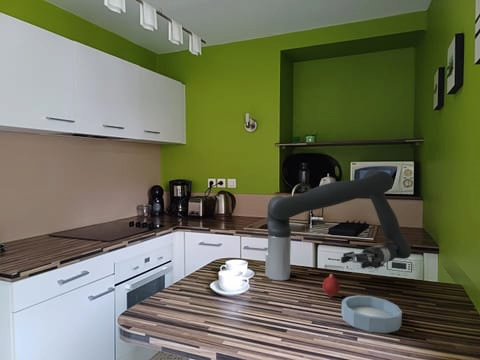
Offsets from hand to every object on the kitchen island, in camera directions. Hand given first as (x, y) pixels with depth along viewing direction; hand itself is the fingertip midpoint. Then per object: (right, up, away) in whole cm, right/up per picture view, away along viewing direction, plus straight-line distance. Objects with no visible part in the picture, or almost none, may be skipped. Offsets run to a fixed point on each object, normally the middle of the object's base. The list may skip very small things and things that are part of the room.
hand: (351, 262), depth 120 cm
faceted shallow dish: (-2, -11, -23) cm, 26 cm away
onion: (-9, -10, -6) cm, 16 cm away
